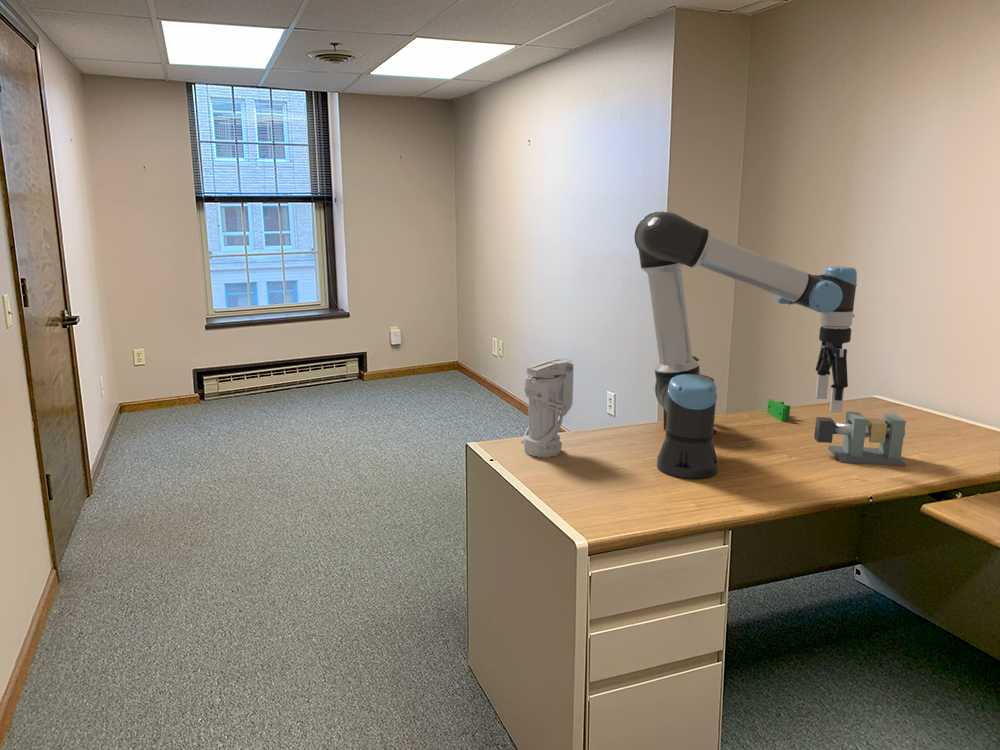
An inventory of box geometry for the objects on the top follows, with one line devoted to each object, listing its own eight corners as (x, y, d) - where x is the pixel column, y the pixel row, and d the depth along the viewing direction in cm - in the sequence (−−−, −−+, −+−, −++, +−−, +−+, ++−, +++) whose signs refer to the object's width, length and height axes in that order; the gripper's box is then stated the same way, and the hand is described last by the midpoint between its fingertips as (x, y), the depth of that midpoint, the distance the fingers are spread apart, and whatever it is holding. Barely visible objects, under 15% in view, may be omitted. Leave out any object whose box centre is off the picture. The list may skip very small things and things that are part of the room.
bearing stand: (889, 452, 200) (894, 411, 197) (904, 465, 189) (910, 423, 186) (828, 448, 202) (832, 409, 199) (840, 462, 191) (845, 420, 189)
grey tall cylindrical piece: (536, 460, 191) (538, 367, 185) (516, 448, 200) (517, 360, 194) (576, 452, 197) (579, 362, 191) (556, 442, 206) (558, 355, 200)
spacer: (877, 436, 197) (879, 418, 195) (884, 443, 191) (887, 424, 190) (863, 436, 197) (865, 417, 196) (870, 442, 192) (872, 423, 190)
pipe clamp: (793, 422, 228) (794, 408, 227) (781, 422, 228) (783, 408, 227) (777, 412, 239) (779, 398, 238) (766, 412, 239) (768, 398, 238)
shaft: (898, 442, 195) (901, 421, 194) (903, 446, 192) (906, 424, 190) (814, 438, 198) (816, 417, 197) (817, 442, 195) (820, 420, 193)
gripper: (867, 334, 177) (858, 418, 181) (836, 319, 201) (829, 393, 205) (834, 334, 178) (826, 417, 182) (808, 319, 202) (801, 393, 207)
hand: (828, 405), depth 194 cm, fingers open, 13 cm apart
